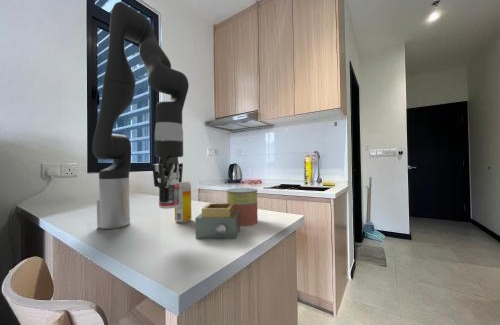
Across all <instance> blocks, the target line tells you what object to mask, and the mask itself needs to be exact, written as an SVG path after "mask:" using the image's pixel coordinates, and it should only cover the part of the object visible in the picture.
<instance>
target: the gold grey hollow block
mask: <svg viewBox="0 0 500 325" xmlns="http://www.w3.org/2000/svg"><path fill="white" fill-rule="evenodd" d="M194 219H195V224H194V225H195V239H220V240H221V239H222V240H223V239H227V240H228V239H229V240H231V239H233V240H236V239H237V238H238V234H239V232H240V231H241V227H240V210H234V203H227V202H226V203H225V202H224V203H220V202H219V203H212V202H211V203H208V204H207V205H205V206H204V207H203V208H201V213H200V214H198V215H197V216H196V217H195V218H194Z"/></svg>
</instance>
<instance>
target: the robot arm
mask: <svg viewBox="0 0 500 325" xmlns="http://www.w3.org/2000/svg"><path fill="white" fill-rule="evenodd" d="M108 31H109V34H108V36H109V37H108V52H107V57H106V58H107V59H106V64H105V69H104V70H105V71H104V77H103V82H102V84H103V85H102V89H101V90H102V92H101V101H100V108H99V114H98V119H97V122H96V127H95V130H94V134H93V138H92V143H91V144H92V145H91V147H92V148H91V150H92V154H93V156H94V157H95V158H96V159H99V160H112V161H113V162H112V164H111V165H110V166H108V167H106V168H104V169H101V170H100V171H99V172H98V188H99V189H98V190H99V191H98V196H99V197H98V198H99V199H98V200H96V221H97V222H96V223H97V224H96V225H97V226H96V227H97V228H98V229H102V230H110V229H111V230H113V229H118V228H123V227H126V226H128V225H130V224H131V215H130V214H131V212H130V210H131V206H130V205H131V204H130V203H131V202H130V171H131V168H132V166H131V164H132V143H131V140H130V139H129V137H128V136H127V135H124V134H119V133H117V134H116V133H113V130H114V127H115V124H116V121H118V119H119V118H120V116H121V115H122V114H123V113H124V112H125V111H126V110H127V109H128V108H129V107H130V106H131V104H132V102H133V100H134V96H135V89H136V78H135V75H134V71H133V69H132V66H131V65H130V63H129V60H128V56H127V54H126V49H125V39H127V40H129V41H131V42H134V43H137V44H139V48H138V56H139V58H140V60H141V62H142V63H143V65H144V67H145V69H146V72H147V80H148V81H147V82H148V84H149V86H150V87H151V89H153V90H154V91H155V92H158V93H162V94H164V95H165V94H166V95H168V96H170V99H169V100H165V101H164V100H162V101H159V102H157V103H156V105H155V129H154V156H155V157H156V158H159V161H158V163H153V164H152V166H151V168H152V177H153V184H154V187H156V188H158V189H159V188H160V202H168V201H169V188H168V187H169V182H170V180H172V175H173V173H175V172H176V173H177V178H176V180H178V181H179V182H183V181H182V180H183V170H184V169H183V168H184V163H183V162H179V158H182V157H184V129H183V110H184V106H185V102H186V98H187V95H188V93H189V92H188V91H189V86H190V84H189V80H188V77H187V76H186V75H185V74H184V73H183V72H181V71H179V70H176V69H173V68H172V64H171V60H170V59H169V57H168V56H167V54H166V53H165V51H164V50H163V49H162V48H161V45H160V44H159V42H158V39H157V36H156V35H155V34H156V33H155V31H154V29H153V27H152V24H151V23H150V21H149V19H148V18H147V17H146V16H145V15H144V14H142V13H140V12H138V11H137V10H135V9H134V8H132V7H130V6H129V5H127V4H125V3H124V2H121V1H118V2H116V3H115V4H114V6H112V9H111V13H110V18H109V30H108ZM165 180H166V183H165Z"/></svg>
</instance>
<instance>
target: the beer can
mask: <svg viewBox="0 0 500 325" xmlns="http://www.w3.org/2000/svg"><path fill="white" fill-rule="evenodd" d="M191 220H192V185H191V182H190V181H188V180H187V181H182V182H179V206H178V207H176V208H174V221H175V222H176V223H177V224H184V223H189V222H190V221H191Z"/></svg>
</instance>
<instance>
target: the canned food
mask: <svg viewBox="0 0 500 325" xmlns="http://www.w3.org/2000/svg"><path fill="white" fill-rule="evenodd" d="M226 203H234V210H240V228H244V227H246V228H247V227H252V226H255V225H258V223H259V220H258V189H257V188H254V187H253V188H250V187H236V188H230V189H227V190H226Z"/></svg>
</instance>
